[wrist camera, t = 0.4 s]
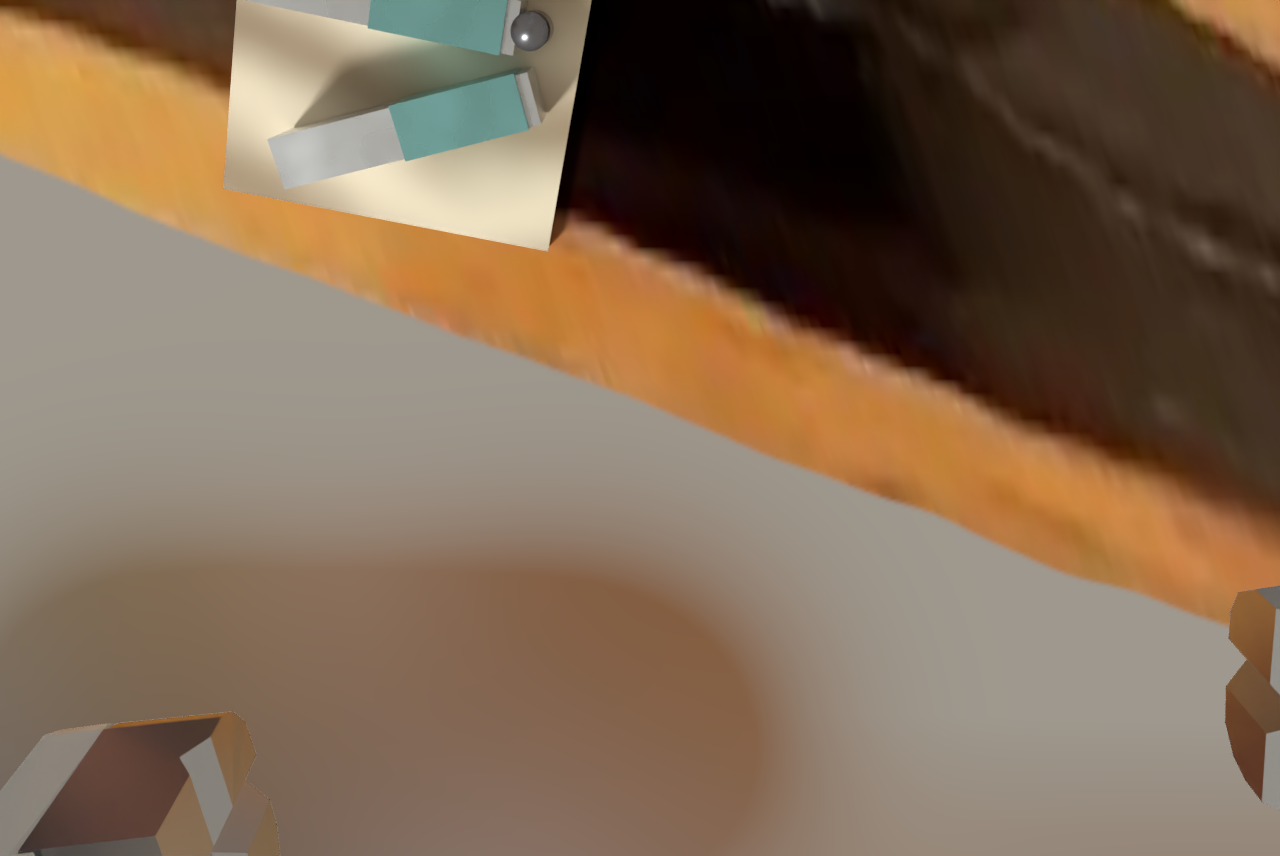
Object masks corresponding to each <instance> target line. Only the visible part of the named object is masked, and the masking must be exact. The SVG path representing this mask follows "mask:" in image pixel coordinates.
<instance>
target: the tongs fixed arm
mask: <svg viewBox="0 0 1280 856" xmlns="http://www.w3.org/2000/svg"><path fill="white" fill-rule="evenodd" d="M245 1H250V2H255V3H259V4H264V5H269V6H274V7H279V8H284V9H289V10H293V11H298V12H303V13H308V14H313V15H318V16H322V17H327V18H332V19H337V20H342V21H347V22H352V23H356V24H361V25H366V26H368V29H373V30H377V31H382V32H387V33H392V34H397V35H402V36H407V37H411V38H416V39H421V40H426V41H431V42H436V43H441V44H445V45H450V46H455V47H460V48H465V49H470V50H475V51H479V52H484V53H489V54H494V55H501V54H507V55H512V56H513V55H515V54H516V53H518V52H519V51H520V50H521V49H522V50H524V51H535V50H538V49H539V48H541V47H542V46H543V45H544V44H546V43H547V42H548V41H549V40H550V39H551V37H552V35H553V30H554V26H553V22H552V20H551V18H550V17H549V15H548V14H547V13H545V12H543V11H541V10H531V11H528V12H526V11H527V5H528V0H245Z"/></svg>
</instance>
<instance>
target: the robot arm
mask: <svg viewBox="0 0 1280 856" xmlns="http://www.w3.org/2000/svg"><path fill="white" fill-rule="evenodd" d="M1229 640H1230V641H1231V642H1232V643H1233V644H1234V646H1235V647H1236V648H1237V649H1238V650H1239V652H1240V653H1241V654H1242V655H1243V656H1244V657H1245V659H1246V661H1245V662H1244V664H1243V665H1242V666H1241V668H1240V669H1239V670H1238V671H1237V673H1236V674H1235V675H1234V676H1233V678H1232V679H1231V680H1230V682H1229V683H1228V684H1227V685H1226V703H1225V723H1226V728H1227V732H1228V736H1229V740H1230V744H1231V748H1232V753H1233V756H1234V758H1235V761H1236V762H1237V765H1238V767H1239V769H1240V771H1241V773H1242V775H1243V777H1244V779H1245V781H1246V782H1247V783H1248V785H1249V786H1250V787H1251V788H1252V790H1253V791H1254V792H1255V794H1256V795H1257V796H1258V798H1259V799H1260V800H1261V802H1263V803H1265V804H1267V805H1269V806H1271V807H1273V808H1275V809H1277V810H1279V811H1280V586H1275V587H1268V588H1261V589H1254V590H1248V591H1242V592H1238V593H1237V596H1236V598H1235V601H1234V603H1233V606H1232V608H1231V611H1230V625H1229ZM255 758H256V752H255V749H254V746H253V743H252V740H251V737H250V734H249V731H248V728H247V725H246V722H245V721H244V720H243V719H242V718H240V717H239V716H238V715H237V714H235V713H234V712H223V713H213V714H203V715H193V716H183V717H173V718H163V719H154V720H143V721H134V722H124V723H118V724H115V725H114V724H110V723H107V724H100V725H93V726H86V727H79V728H72V729H64V730H59V731H56V732H53V733H50V734H47V735H44V736H43V737H42V739H41V740H40V741H39V743H38V744H37V745H36V746H35V747H34V749H33V750H32V751H31V753H30V754H29V755H28V756H27V758H26V759H25V760H24V761H23V763H22V764H21V765H20V767H19V768H18V769H17V770H16V772H15V773H14V774H13V775H12V777H11V778H10V779H9V781H8V782H7V783H6V784H5V786H4V787H3V788H2V790H1V791H0V856H280V848H279V839H278V831H277V823H276V819H275V816H274V812H273V809H272V805H271V802H270V799H269V798H267V797H266V796H265V795H264V794H262V793H261V792H260V791H259V790H257V789H256V788H255V787H254V786H253V785H251V784H250V783H249V782H248V781H246V780H245V779H246V777H247V775H248V773H249V771H250V768H251V766H252V764H253V762H254V759H255Z"/></svg>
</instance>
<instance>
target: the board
mask: <svg viewBox="0 0 1280 856" xmlns="http://www.w3.org/2000/svg"><path fill="white" fill-rule="evenodd" d="M591 2H592V0H528V5H527V11H526V12H528V11H531V10H541V11H543V12H545V13H547V14H548V15H549V17H550V18H551V20H552V22H553V26H554V30H553V35H552V37H551V39H550V40H549V41H548V42H547V43H546V44H544V45H543V46H542V47H541V48H539V49H538V50H535V51H524V50H522V49H521V50H520V51H519V52H518V53H516V54H515V55H513V56H512V55H507V54H501V55H494V54H489V53H484V52H479V51H475V50H470V49H465V48H460V47H455V46H450V45H445V44H441V43H436V42H431V41H426V40H421V39H416V38H411V37H407V36H402V35H397V34H392V33H387V32H382V31H377V30H373V29H368V26H366V25H361V24H356V23H352V22H347V21H342V20H337V19H332V18H327V17H322V16H318V15H313V14H308V13H303V12H298V11H293V10H289V9H284V8H279V7H274V6H269V5H264V4H259V3H255V2H250V1H245V0H237V5H236V19H235V33H234V47H233V61H232V75H231V89H230V103H229V117H228V131H227V145H226V159H225V173H224V188H223V189H227V190H232V191H237V192H242V193H247V194H253V195H258V196H263V197H268V198H273V199H279V200H284V201H289V202H294V203H299V204H304V205H310V206H315V207H320V208H325V209H330V210H336V211H341V212H346V213H351V214H356V215H362V216H367V217H372V218H377V219H382V220H388V221H393V222H398V223H403V224H408V225H414V226H419V227H424V228H429V229H434V230H440V231H445V232H450V233H455V234H460V235H466V236H471V237H476V238H481V239H486V240H491V241H497V242H502V243H507V244H512V245H517V246H523V247H528V248H533V249H538V250H543V251H548V249H549V245H550V239H551V233H552V227H553V222H554V216H555V210H556V204H557V198H558V193H559V187H560V181H561V175H562V170H563V164H564V158H565V152H566V146H567V141H568V135H569V129H570V123H571V118H572V112H573V106H574V100H575V94H576V89H577V83H578V77H579V71H580V66H581V60H582V54H583V48H584V43H585V37H586V31H587V25H588V19H589V14H590V8H591ZM532 66H534V69H535V73H536V77H537V81H538V85H539V88H540V92H541V96H542V100H543V103H544V107H545V111H546V117H545V118H544V120H543V122H542V124H541V125H537V126H533V127H531V128H530V129H529V130H528V131H524V132H520V133H516V134H512V135H508V136H504V137H500V138H496V139H492V140H488V141H484V142H481V143H477V144H473V145H469V146H465V147H461V148H457V149H453V150H449V151H445V152H441V153H437V154H433V155H429V156H425V157H421V158H418V159H414V160H410V161H406V162H405V159H403V160H399V161H395V162H391V163H387V164H383V165H379V166H376V167H372V168H368V169H364V170H360V171H356V172H352V173H348V174H344V175H340V176H336V177H332V178H328V179H324V180H320V181H317V182H313V183H309V184H305V185H301V186H297V187H293V188H289V189H284V186H283V183H282V180H281V178H280V175H279V172H278V169H277V166H276V163H275V161H274V158H273V155H272V152H271V149H270V146H269V144H268V141H267V139H269V138H271V137H273V136H276V135H278V134H280V133H282V132H285V131H287V130H289V129H292V128H296V127H300V126H303V125H307V124H311V123H315V122H319V121H323V120H327V119H331V118H334V117H338V116H342V115H346V114H350V113H354V112H358V111H362V110H365V109H369V108H373V107H377V106H381V105H385V104H389V103H393V102H396V101H399V100H401V99H403V98H404V97H408V96H412V95H415V94H419V93H423V92H427V91H431V90H435V89H439V88H443V87H446V86H450V85H454V84H458V83H462V82H466V81H470V80H473V79H477V78H481V77H485V76H489V75H493V74H497V73H501V72H504V71H508V70H512V69H516V68H520V67H521V68H522V69H524V68H528V67H532Z"/></svg>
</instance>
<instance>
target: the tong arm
mask: <svg viewBox="0 0 1280 856" xmlns="http://www.w3.org/2000/svg"><path fill="white" fill-rule="evenodd" d="M545 117H546V111H545V107H544V103H543V100H542V96H541V92H540V88H539V85H538V81H537V77H536V73H535V69H534V66H532V67H528V68H524V69H522V68H521V67H520V68H516V69H512V70H508V71H504V72H501V73H497V74H493V75H489V76H485V77H481V78H477V79H473V80H470V81H466V82H462V83H458V84H454V85H450V86H446V87H443V88H439V89H435V90H431V91H427V92H423V93H419V94H415V95H412V96H408V97H404V98H403V99H401V100H399V101H396V102H393V103H389V104H385V105H381V106H377V107H373V108H369V109H365V110H362V111H358V112H354V113H350V114H346V115H342V116H338V117H334V118H331V119H327V120H323V121H319V122H315V123H311V124H307V125H303V126H300V127H296V128H292V129H289V130H287V131H285V132H282V133H280V134H278V135H276V136H273V137H271V138H269V139H267V141H268V144H269V146H270V149H271V152H272V155H273V158H274V161H275V163H276V166H277V169H278V172H279V175H280V178H281V180H282V183H283V186H284V189H289V188H293V187H297V186H301V185H305V184H309V183H313V182H317V181H320V180H324V179H328V178H332V177H336V176H340V175H344V174H348V173H352V172H356V171H360V170H364V169H368V168H372V167H376V166H379V165H383V164H387V163H391V162H395V161H399V160H403V159H405V162H406V161H410V160H414V159H418V158H421V157H425V156H429V155H433V154H437V153H441V152H445V151H449V150H453V149H457V148H461V147H465V146H469V145H473V144H477V143H481V142H484V141H488V140H492V139H496V138H500V137H504V136H508V135H512V134H516V133H520V132H524V131H528V130H529V129H530V128H531V127H533V126H537V125H541V124H542V122H543V120H544V118H545Z"/></svg>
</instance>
